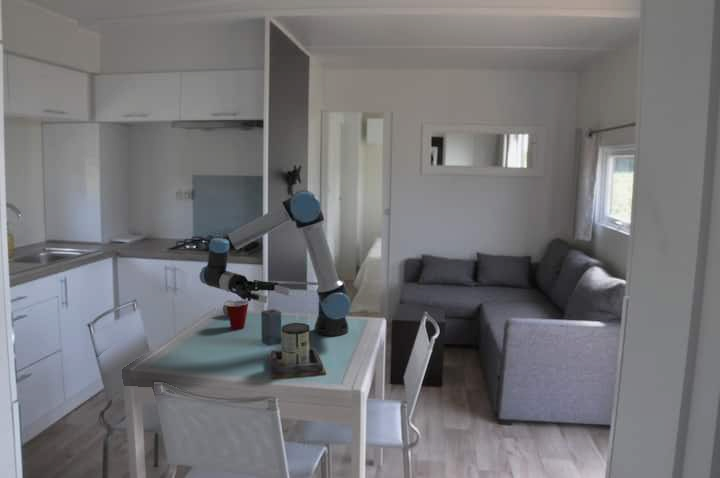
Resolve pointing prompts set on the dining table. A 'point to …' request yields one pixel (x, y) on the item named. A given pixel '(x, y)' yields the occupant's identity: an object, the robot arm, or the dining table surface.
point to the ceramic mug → (226, 308)
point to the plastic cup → (237, 313)
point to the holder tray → (295, 366)
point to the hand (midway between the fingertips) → (278, 295)
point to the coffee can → (295, 344)
